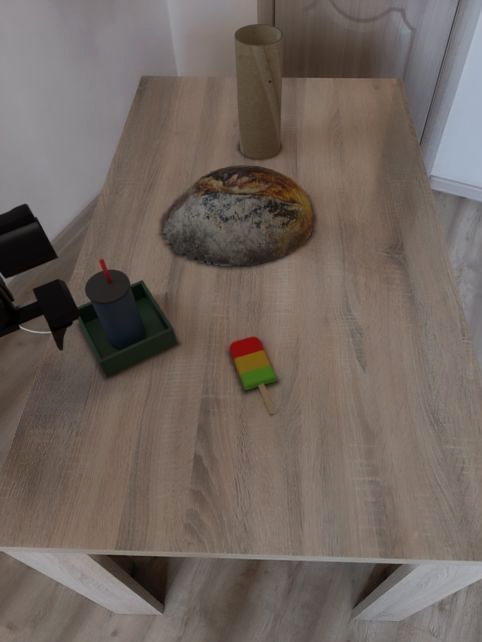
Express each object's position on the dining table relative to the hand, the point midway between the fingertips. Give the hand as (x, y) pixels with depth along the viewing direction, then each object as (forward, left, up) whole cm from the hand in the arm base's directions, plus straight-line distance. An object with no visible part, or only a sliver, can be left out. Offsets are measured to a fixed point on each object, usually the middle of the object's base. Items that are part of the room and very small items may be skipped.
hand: (28, 362), depth 66 cm
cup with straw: (+14, +7, -13) cm, 20 cm away
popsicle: (+30, -12, -13) cm, 35 cm away
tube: (+65, +45, -13) cm, 80 cm away
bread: (+47, +24, -13) cm, 54 cm away
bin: (+15, +8, -13) cm, 21 cm away
